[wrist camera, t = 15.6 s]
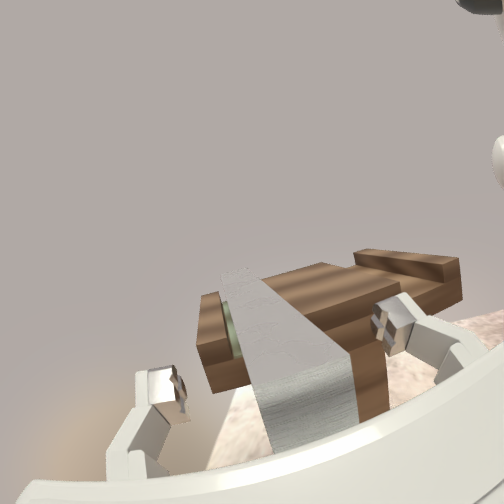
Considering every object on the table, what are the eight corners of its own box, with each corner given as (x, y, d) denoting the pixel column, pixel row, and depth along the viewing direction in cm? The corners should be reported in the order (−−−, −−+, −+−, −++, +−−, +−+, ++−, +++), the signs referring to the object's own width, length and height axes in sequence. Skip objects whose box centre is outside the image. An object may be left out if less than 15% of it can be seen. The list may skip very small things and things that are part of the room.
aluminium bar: (360, 427, 9) (349, 354, 9) (275, 458, 9) (252, 386, 8) (253, 293, 35) (246, 267, 34) (227, 301, 34) (219, 274, 34)
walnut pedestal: (448, 485, 23) (458, 257, 21) (285, 558, 20) (196, 345, 18) (389, 426, 39) (366, 248, 36) (261, 474, 36) (201, 295, 34)
